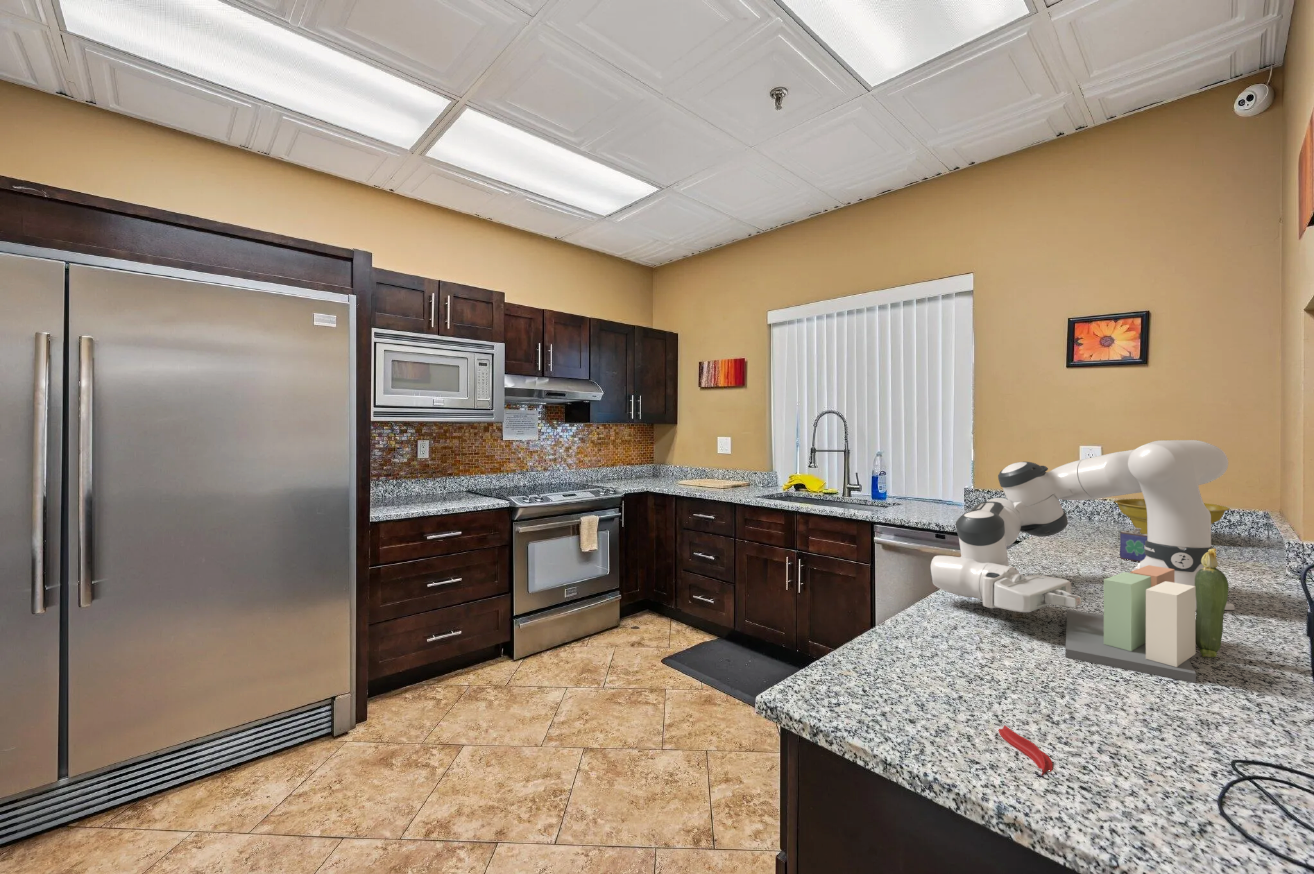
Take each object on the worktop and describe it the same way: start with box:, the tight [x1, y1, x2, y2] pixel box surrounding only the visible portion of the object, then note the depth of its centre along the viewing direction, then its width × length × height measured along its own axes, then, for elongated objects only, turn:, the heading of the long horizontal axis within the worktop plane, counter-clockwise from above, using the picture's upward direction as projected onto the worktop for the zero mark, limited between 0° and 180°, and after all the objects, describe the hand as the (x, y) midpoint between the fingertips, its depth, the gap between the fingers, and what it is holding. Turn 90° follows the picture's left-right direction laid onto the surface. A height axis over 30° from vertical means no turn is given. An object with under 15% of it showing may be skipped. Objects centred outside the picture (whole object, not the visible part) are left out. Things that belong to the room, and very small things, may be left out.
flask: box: [1119, 527, 1147, 563], centre depth 173 cm, size 9×3×11 cm, turn 25°
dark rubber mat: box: [1064, 609, 1197, 684], centre depth 105 cm, size 28×17×2 cm, turn 142°
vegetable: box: [1195, 547, 1230, 658], centre depth 99 cm, size 4×4×20 cm
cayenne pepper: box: [998, 724, 1053, 776], centre depth 70 cm, size 12×5×2 cm, turn 159°
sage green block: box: [1103, 571, 1151, 651], centre depth 102 cm, size 4×10×12 cm, turn 122°
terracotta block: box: [1129, 565, 1175, 587], centre depth 107 cm, size 4×10×12 cm, turn 122°
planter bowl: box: [1113, 498, 1230, 534], centre depth 210 cm, size 32×32×13 cm
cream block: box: [1146, 581, 1196, 667], centre depth 95 cm, size 4×10×12 cm, turn 122°
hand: (1078, 602), depth 108 cm, fingers closed
